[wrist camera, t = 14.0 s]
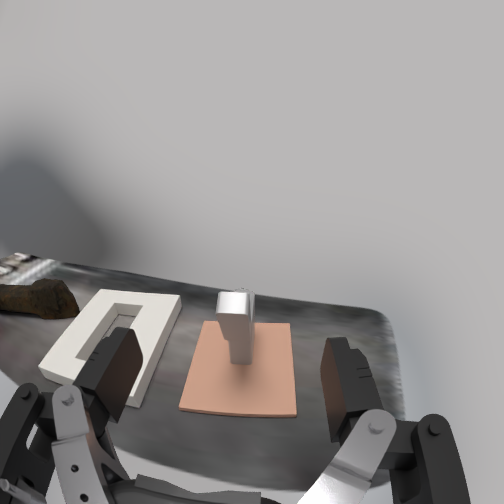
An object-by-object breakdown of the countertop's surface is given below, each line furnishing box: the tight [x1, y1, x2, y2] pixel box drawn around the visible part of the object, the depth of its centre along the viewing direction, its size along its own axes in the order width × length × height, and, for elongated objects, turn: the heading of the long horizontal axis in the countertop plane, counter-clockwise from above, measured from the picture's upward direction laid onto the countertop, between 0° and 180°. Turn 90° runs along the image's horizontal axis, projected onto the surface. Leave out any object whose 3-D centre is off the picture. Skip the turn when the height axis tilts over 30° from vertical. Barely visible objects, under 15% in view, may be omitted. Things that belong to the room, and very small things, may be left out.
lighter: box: [216, 288, 255, 365], centre depth 19 cm, size 7×2×8 cm, turn 176°
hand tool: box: [0, 278, 80, 319], centre depth 23 cm, size 19×4×5 cm, turn 92°
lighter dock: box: [38, 289, 182, 408], centre depth 22 cm, size 10×13×2 cm
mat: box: [179, 321, 297, 417], centre depth 20 cm, size 8×10×1 cm
